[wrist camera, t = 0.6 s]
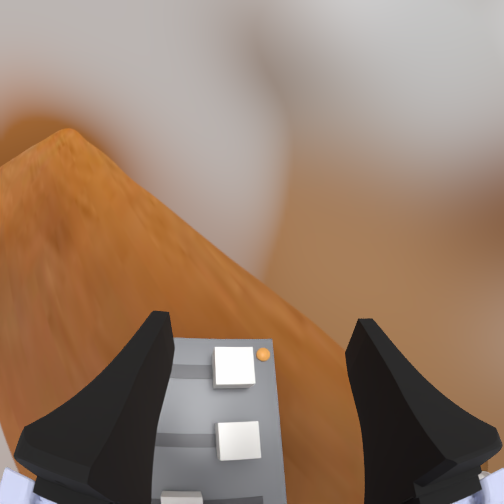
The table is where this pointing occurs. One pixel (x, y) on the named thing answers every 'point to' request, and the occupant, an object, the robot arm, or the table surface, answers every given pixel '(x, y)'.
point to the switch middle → (237, 440)
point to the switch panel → (203, 428)
